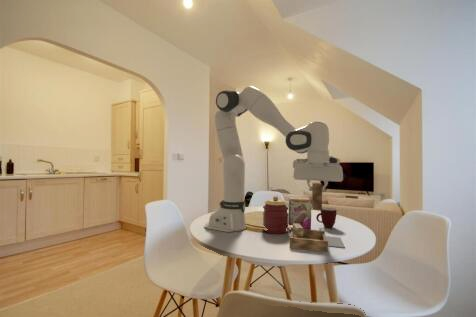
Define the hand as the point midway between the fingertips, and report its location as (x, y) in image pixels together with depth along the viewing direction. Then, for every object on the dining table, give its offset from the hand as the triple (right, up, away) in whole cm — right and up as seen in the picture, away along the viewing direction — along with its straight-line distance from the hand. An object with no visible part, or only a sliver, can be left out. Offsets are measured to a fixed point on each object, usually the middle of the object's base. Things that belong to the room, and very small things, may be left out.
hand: (316, 191), depth 98 cm
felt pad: (+8, -23, +3) cm, 25 cm away
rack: (-4, -23, +1) cm, 23 cm away
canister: (-15, -23, +19) cm, 33 cm away
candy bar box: (-2, -23, +20) cm, 31 cm away
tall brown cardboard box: (0, -7, 0) cm, 7 cm away
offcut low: (-8, -23, +2) cm, 24 cm away
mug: (+14, -24, +26) cm, 38 cm away
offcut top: (-8, -19, +2) cm, 21 cm away
